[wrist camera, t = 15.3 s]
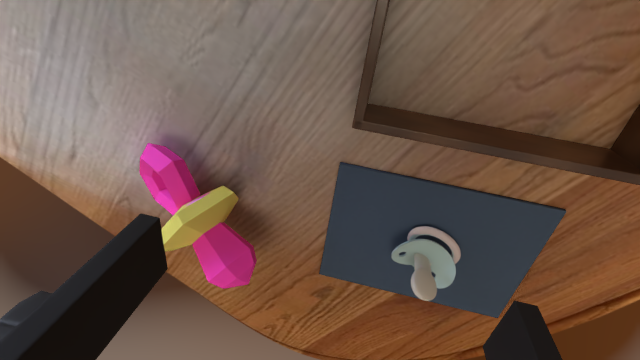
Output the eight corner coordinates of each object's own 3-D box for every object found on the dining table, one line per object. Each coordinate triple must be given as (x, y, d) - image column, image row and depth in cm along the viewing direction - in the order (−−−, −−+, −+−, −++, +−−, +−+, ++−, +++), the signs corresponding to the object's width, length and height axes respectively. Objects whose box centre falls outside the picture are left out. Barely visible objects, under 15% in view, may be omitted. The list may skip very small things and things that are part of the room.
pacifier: (422, 212, 34) (384, 244, 37) (429, 251, 29) (384, 286, 31) (473, 250, 35) (432, 279, 38) (489, 295, 30) (439, 325, 33)
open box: (357, 109, 30) (351, 128, 26) (404, -126, 22) (407, -156, 18) (614, 159, 28) (654, 188, 24) (777, -83, 20) (883, -105, 15)
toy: (195, 111, 35) (92, 152, 28) (299, 243, 34) (218, 315, 28) (183, 155, 43) (101, 194, 36) (268, 263, 42) (199, 322, 36)
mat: (319, 271, 42) (319, 274, 41) (340, 161, 33) (339, 163, 33) (496, 315, 39) (497, 318, 39) (564, 208, 31) (566, 211, 31)
